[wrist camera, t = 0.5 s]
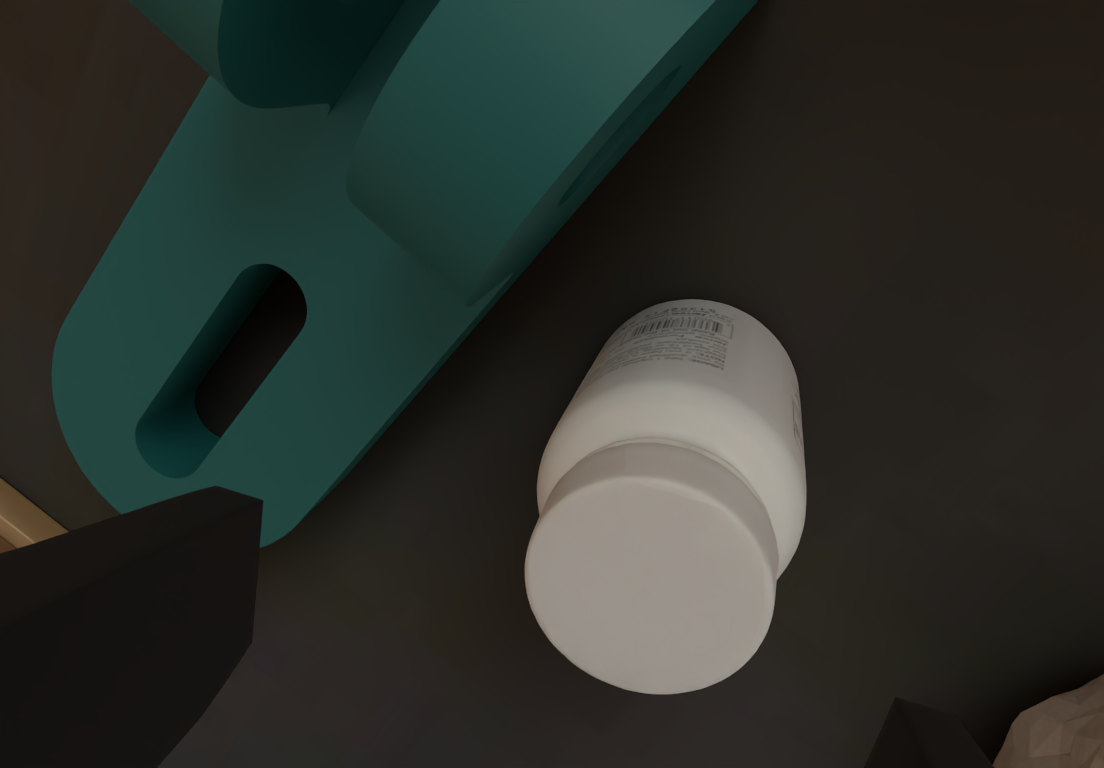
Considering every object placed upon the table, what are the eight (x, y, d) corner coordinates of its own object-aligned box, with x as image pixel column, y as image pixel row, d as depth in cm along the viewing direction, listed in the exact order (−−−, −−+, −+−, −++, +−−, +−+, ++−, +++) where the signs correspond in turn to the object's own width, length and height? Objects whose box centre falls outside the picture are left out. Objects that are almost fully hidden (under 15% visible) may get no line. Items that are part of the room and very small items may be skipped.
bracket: (504, -297, 16) (268, -604, 8) (783, -29, 16) (789, -99, 9) (77, 384, 23) (-246, 534, 16) (276, 556, 23) (52, 781, 16)
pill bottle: (552, 393, 20) (428, 580, 13) (690, 251, 18) (634, 377, 11) (696, 523, 20) (652, 777, 13) (845, 396, 18) (888, 610, 11)
